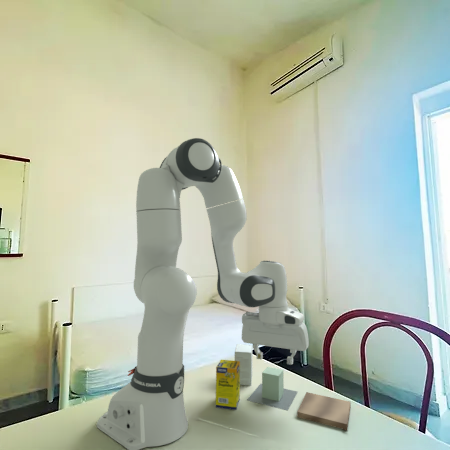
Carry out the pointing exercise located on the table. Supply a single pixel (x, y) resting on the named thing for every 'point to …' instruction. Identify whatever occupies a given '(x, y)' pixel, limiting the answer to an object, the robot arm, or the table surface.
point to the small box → (244, 363)
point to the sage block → (272, 383)
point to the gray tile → (282, 403)
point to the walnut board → (325, 410)
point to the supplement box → (227, 384)
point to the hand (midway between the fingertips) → (274, 361)
